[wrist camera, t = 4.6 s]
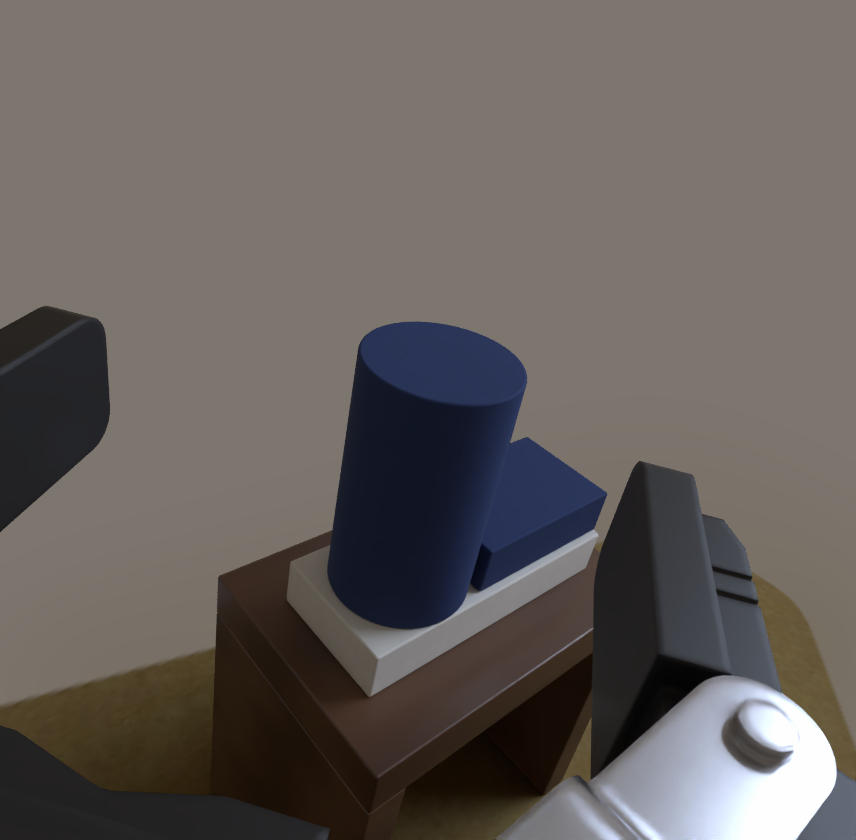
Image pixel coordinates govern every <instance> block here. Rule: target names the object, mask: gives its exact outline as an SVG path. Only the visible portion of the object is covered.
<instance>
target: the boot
mask: <svg viewBox="0 0 856 840" xmlns="http://www.w3.org/2000/svg"><path fill="white" fill-rule="evenodd" d="M526 384H527V374H526V371H525V368H524V366H523V364H522V363H521V362H520V360H519V359H518V358H517V357H516V356H515V355H514V354H513V353H511V351H509V350H508V349H507V348H505V347H503V346H502V345H500V344H499V343H497V342H495V341H494V340H491V339H489V338H487V337H485V336H483V335H480V334H478V333H475V332H472V331H469V330H466V329H462V328H459V327H455V326H450V325H445V324H439V323H430V322H401V323H394V324H389V325H385V326H382V327H379V328H376V329H375V330H373V331H371V332H369V333H368V334H367V335H366V336H365V337H364V338H363V339H362V341H361V342H360V345H359V348H358V355H357V361H356V368H355V375H354V382H353V389H352V397H351V404H350V410H349V417H348V424H347V432H346V438H345V446H344V452H343V460H342V467H341V474H340V481H339V488H338V495H337V502H336V509H335V517H334V523H333V530H332V537H331V544H330V545H329V546H327V547H324V548H322V549H320V550H317V551H315V552H312V553H310V554H308V555H305V556H303V557H300V558H298V559H296V560H293V561H291V563H290V571H289V580H288V590H287V601H288V602H289V603H290V605H291V606H292V607H293V608H294V609H295V610H296V612H297V613H298V614H299V615H300V616H301V618H302V619H303V620H304V621H305V622H306V623H307V625H308V626H309V627H310V628H311V629H312V631H313V632H314V633H315V634H316V635H317V636H318V638H319V639H320V640H321V641H322V642H323V644H324V645H325V646H326V647H327V648H328V650H329V651H330V652H331V653H332V654H333V655H334V657H335V658H336V659H337V660H338V661H339V663H340V664H341V665H342V666H343V667H344V668H345V670H346V671H347V672H348V673H349V674H350V676H351V677H352V678H353V679H354V680H355V681H356V683H357V684H358V685H359V686H360V687H361V689H362V690H363V691H364V692H365V693H366V694H367V696H369V697H371V696H373V695H374V694H376V693H378V692H379V691H381V690H383V689H384V688H386V687H388V686H389V685H391V684H393V683H394V682H396V681H398V680H399V679H401V678H403V677H404V676H406V675H408V674H409V673H411V672H413V671H414V670H416V669H418V668H419V667H421V666H423V665H424V664H426V663H428V662H429V661H431V660H433V659H434V658H436V657H438V656H440V655H441V654H443V653H445V652H446V651H448V650H450V649H451V648H453V647H455V646H456V645H458V644H460V643H461V642H463V641H465V640H466V639H468V638H470V637H471V636H473V635H475V634H476V633H478V632H480V631H481V630H483V629H485V628H486V627H488V626H490V625H491V624H493V623H495V622H496V621H498V620H500V619H501V618H503V617H505V616H506V615H508V614H510V613H511V612H513V611H515V610H516V609H518V608H520V607H521V606H523V605H525V604H526V603H528V602H530V601H531V600H533V599H535V598H536V597H538V596H540V595H541V594H543V593H545V592H546V591H548V590H550V589H551V588H553V587H555V586H557V585H558V584H560V583H562V582H563V581H565V580H567V579H568V578H570V577H572V576H573V575H575V574H577V573H578V572H580V571H582V570H583V569H585V568H586V566H587V564H588V561H589V558H590V556H591V553H592V551H593V548H594V546H595V543H596V541H597V538H598V533H596V532H595V531H594V530H593V529H594V527H595V525H596V522H597V520H598V517H599V514H600V512H601V509H602V506H603V504H604V501H605V499H606V496H607V493H606V492H605V491H603V490H602V489H601V488H599V487H598V486H596V485H595V484H593V483H592V482H591V481H589V480H588V479H587V478H585V477H584V476H582V475H581V474H579V473H578V472H577V471H575V470H574V469H572V468H571V467H569V466H568V465H567V464H565V463H564V462H562V461H561V460H559V459H558V458H556V457H555V456H554V455H552V454H551V453H549V452H548V451H547V450H545V449H544V448H542V447H541V446H539V445H538V444H537V443H535V442H534V441H532V440H531V439H530V438H528V437H526V438H523V439H521V440H518V441H515V442H513V443H510V440H511V437H512V433H513V430H514V426H515V423H516V419H517V416H518V412H519V409H520V405H521V402H522V398H523V395H524V391H525V388H526Z"/></svg>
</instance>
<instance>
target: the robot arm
mask: <svg viewBox="0 0 856 840" xmlns="http://www.w3.org/2000/svg"><path fill="white" fill-rule="evenodd" d="M109 415H110V402H109V386H108V366H107V349H106V335H105V331H104V327H103V325H102V324H101V322H100V321H99V320H98V319H96V318H93V317H88V316H85V315H81V314H77V313H73V312H69V311H66V310H62V309H58V308H54V307H50V306H44V307H41V308H38V309H36V310H35V311H33V312H31V313H29V314H27V315H25V316H24V317H22V318H20V319H18V320H16V321H15V322H13V323H11V324H9V325H7V326H5V327H4V328H2V329H0V532H1V531H2V530H3V529H4V528H5V527H6V526H7V525H9V524H10V523H11V522H12V521H13V520H14V519H15V518H16V517H18V516H19V515H20V514H21V513H22V512H23V511H24V510H26V509H27V508H28V507H29V506H30V505H31V504H32V503H33V502H35V501H36V500H37V499H38V498H39V497H40V496H41V495H42V494H44V493H45V492H46V491H47V490H48V489H49V488H50V487H52V486H53V485H54V484H55V483H56V482H57V481H58V480H59V479H61V478H62V477H63V476H64V475H65V474H66V473H67V472H68V471H70V470H71V469H72V468H73V467H74V466H75V465H76V464H77V463H78V462H80V461H81V460H82V459H83V458H84V457H85V456H86V455H88V454H89V453H90V452H91V451H92V450H93V449H94V448H95V447H96V446H97V445H98V444H99V442H100V440H101V439H102V437H103V435H104V433H105V431H106V428H107V425H108V421H109ZM751 579H752V573H751V570H750V566H749V562H748V558H747V554H746V550H745V548H744V546H743V545H742V544H741V542H740V541H739V540H738V538H737V537H736V536H735V534H734V533H733V532H732V530H731V529H730V528H729V527H728V525H727V524H726V523H725V521H724V520H723V519H719V518H715V517H711V516H707V515H704V514H701V508H700V503H699V498H698V493H697V487H696V482H695V478H694V476H693V475H692V474H688V473H684V472H680V471H676V470H672V469H669V468H665V467H661V466H657V465H653V464H649V463H646V462H642V461H639V462H638V463H637V464H636V465H635V467H634V468H633V470H632V473H631V475H630V477H629V480H628V482H627V485H626V487H625V490H624V493H623V495H622V498H621V500H620V503H619V505H618V508H617V511H616V513H615V515H614V518H613V520H612V523H611V526H610V528H609V530H608V533H607V535H606V538H605V541H604V543H603V546H602V549H601V552H600V556H599V559H598V563H597V568H596V573H595V580H594V604H593V667H592V730H591V780H590V781H589V782H587V783H586V782H585V781H584V780H583V779H582V778H581V777H580V776H573V777H570V778H569V779H567V780H565V781H564V782H562V783H561V784H559V785H558V786H557V787H556V788H554V789H553V790H552V791H551V792H549V793H548V794H547V795H546V796H545V797H544V798H542V799H541V800H540V801H539V802H538V803H537V804H535V805H534V806H533V807H532V808H531V809H530V810H528V811H527V812H526V813H525V814H524V815H523V816H521V817H520V818H519V819H518V820H517V821H516V822H514V823H513V824H512V825H511V826H510V827H509V828H507V829H506V830H505V831H504V832H503V833H502V834H500V835H499V836H498V837H497V838H496V839H495V840H856V781H854V780H852V779H851V778H849V777H848V776H846V775H845V774H843V773H842V772H841V771H839V770H838V769H837V768H836V762H835V758H834V754H833V751H832V749H831V747H830V745H829V742H828V741H827V739H826V737H825V736H824V734H823V733H822V731H821V730H820V728H819V727H818V726H817V725H816V723H815V722H814V721H813V720H812V719H811V718H810V717H809V715H808V714H807V713H806V712H805V711H804V710H803V709H801V708H800V707H799V706H798V705H797V704H795V703H794V702H793V701H792V700H790V699H789V698H787V697H786V696H784V695H783V694H782V690H781V686H780V682H779V678H778V674H777V670H776V667H775V663H774V659H773V655H772V651H771V647H770V643H769V639H768V636H767V632H766V628H765V624H764V620H763V616H762V612H761V608H760V607H759V606H757V604H758V597H757V593H756V589H755V585H754V582H751ZM329 830H330V829H329V828H325V827H322V826H319V825H316V824H313V823H309V822H306V821H303V820H300V819H297V818H294V817H290V816H287V815H284V814H281V813H278V812H274V811H271V810H268V809H265V808H262V807H258V806H255V805H252V804H249V803H246V802H242V801H239V800H236V799H233V798H230V797H226V796H212V795H190V794H169V793H147V792H125V791H111V790H106V789H103V788H100V787H98V786H96V785H94V784H93V783H91V782H90V781H88V780H87V779H85V778H84V777H83V776H81V775H80V774H78V773H77V772H75V771H74V770H72V769H71V768H70V767H68V766H67V765H65V764H64V763H62V762H61V761H60V760H58V759H57V758H55V757H54V756H52V755H51V754H49V753H48V752H47V751H45V750H44V749H42V748H41V747H39V746H38V745H37V744H35V743H34V742H32V741H31V740H29V739H28V738H27V737H25V736H24V735H22V734H21V733H19V732H18V731H16V730H13V729H9V728H6V727H3V726H0V840H328V836H329Z"/></svg>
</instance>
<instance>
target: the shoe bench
mask: <svg viewBox="0 0 856 840" xmlns="http://www.w3.org/2000/svg"><path fill="white" fill-rule="evenodd" d="M331 537H332V531H329V532H327V533H324V534H322V535H319V536H317V537H315V538H312V539H309V540H307V541H305V542H302V543H299V544H297V545H294V546H292V547H290V548H287V549H285V550H282V551H280V552H277V553H275V554H272V555H270V556H267V557H265V558H262V559H260V560H257V561H255V562H252V563H250V564H248V565H245V566H242V567H240V568H238V569H235V570H233V571H230V572H228V573H225V574H223V575H220V576H219V577H218V599H217V612H218V613H217V625H216V651H215V678H214V704H213V731H212V758H211V785H210V787H211V789H212V791H213V792H214V794H215V796H226V797H230V798H233V799H236V800H239V801H242V802H246V803H249V804H252V805H255V806H258V807H262V808H265V809H268V810H271V811H274V812H278V813H281V814H284V815H287V816H290V817H294V818H297V819H300V820H303V821H306V822H309V823H313V824H316V825H319V826H322V827H325V828H329V829H330V830H329V836H328V840H391V839H392V835H393V831H394V828H395V824H396V821H397V817H398V813H399V810H400V806H401V803H402V799H403V795H404V792H405V788H406V787H407V786H408V785H410V784H411V783H413V782H414V781H415V780H417V779H418V778H420V777H421V776H422V775H424V774H425V773H426V772H428V771H429V770H431V769H432V768H433V767H435V766H436V765H438V764H439V763H440V762H442V761H443V760H444V759H446V758H447V757H449V756H450V755H451V754H453V753H454V752H456V751H457V750H458V749H460V748H461V747H462V746H464V745H465V744H467V743H468V742H469V741H471V740H472V739H473V738H475V737H476V736H478V735H479V734H480V733H482V732H483V731H484V732H485V734H486V735H487V736H488V737H489V738H490V739H491V740H492V741H493V742H494V743H495V744H496V745H497V746H498V747H499V748H500V750H501V751H502V752H503V753H504V754H505V755H506V756H507V757H508V758H509V759H510V760H511V761H512V762H513V763H514V765H515V766H516V767H517V768H518V769H519V770H520V771H521V772H522V773H523V774H524V775H525V776H526V777H527V778H528V779H529V781H530V782H531V783H532V784H533V785H534V786H535V787H536V788H537V789H538V790H539V791H540V792H541V793H542V794H543V795H545V794H546V793H547V792H548V791H549V790H550V789H552V788H553V787H554V786H555V785H556V784H557V783H558V782H560V781H561V780H562V779H563V776H564V774H565V772H566V770H567V768H568V766H569V763H570V761H571V759H572V757H573V755H574V753H575V751H576V748H577V746H578V744H579V742H580V740H581V738H582V735H583V733H584V731H585V729H586V727H587V725H588V722H589V720H590V718H591V716H592V667H593V604H594V580H595V573H596V568H597V563H598V559H599V556H600V552H598V551H597V550H596V549H595V548H593V551H592V553H591V556H590V558H589V561H588V564H587V566H586V568H585V569H583V570H582V571H580V572H578V573H577V574H575V575H573V576H572V577H570V578H568V579H567V580H565V581H563V582H562V583H560V584H558V585H557V586H555V587H553V588H551V589H550V590H548V591H546V592H545V593H543V594H541V595H540V596H538V597H536V598H535V599H533V600H531V601H530V602H528V603H526V604H525V605H523V606H521V607H520V608H518V609H516V610H515V611H513V612H511V613H510V614H508V615H506V616H505V617H503V618H501V619H500V620H498V621H496V622H495V623H493V624H491V625H490V626H488V627H486V628H485V629H483V630H481V631H480V632H478V633H476V634H475V635H473V636H471V637H470V638H468V639H466V640H465V641H463V642H461V643H460V644H458V645H456V646H455V647H453V648H451V649H450V650H448V651H446V652H445V653H443V654H441V655H440V656H438V657H436V658H434V659H433V660H431V661H429V662H428V663H426V664H424V665H423V666H421V667H419V668H418V669H416V670H414V671H413V672H411V673H409V674H408V675H406V676H404V677H403V678H401V679H399V680H398V681H396V682H394V683H393V684H391V685H389V686H388V687H386V688H384V689H383V690H381V691H379V692H378V693H376V694H374V695H373V696H371V697H369V696H367V694H366V693H365V692H364V691H363V690H362V689H361V687H360V686H359V685H358V684H357V683H356V681H355V680H354V679H353V678H352V677H351V676H350V674H349V673H348V672H347V671H346V670H345V668H344V667H343V666H342V665H341V664H340V663H339V661H338V660H337V659H336V658H335V657H334V655H333V654H332V653H331V652H330V651H329V650H328V648H327V647H326V646H325V645H324V644H323V642H322V641H321V640H320V639H319V638H318V636H317V635H316V634H315V633H314V632H313V631H312V629H311V628H310V627H309V626H308V625H307V623H306V622H305V621H304V620H303V619H302V618H301V616H300V615H299V614H298V613H297V612H296V610H295V609H294V608H293V607H292V606H291V605H290V603H289V602H288V601H287V590H288V580H289V571H290V563H291V561H293V560H296V559H298V558H300V557H303V556H305V555H308V554H310V553H312V552H315V551H317V550H320V549H322V548H324V547H327V546H329V545H330V544H331Z"/></svg>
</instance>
